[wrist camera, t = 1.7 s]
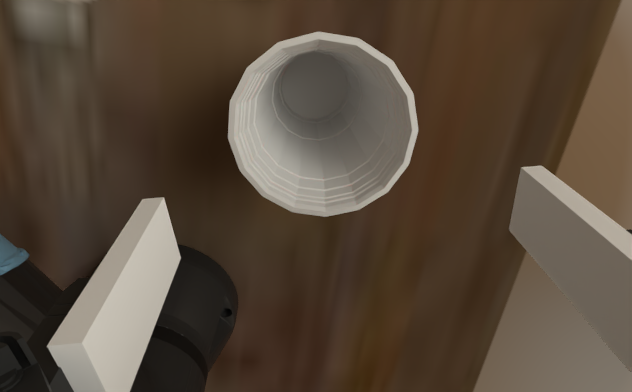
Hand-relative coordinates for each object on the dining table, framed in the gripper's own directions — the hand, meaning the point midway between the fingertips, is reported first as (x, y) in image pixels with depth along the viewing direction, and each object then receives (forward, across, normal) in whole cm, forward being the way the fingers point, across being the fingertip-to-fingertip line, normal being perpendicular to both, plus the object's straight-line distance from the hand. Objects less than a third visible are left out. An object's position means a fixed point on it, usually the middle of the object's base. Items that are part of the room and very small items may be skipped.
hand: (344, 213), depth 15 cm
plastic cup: (+21, 0, 0) cm, 21 cm away
